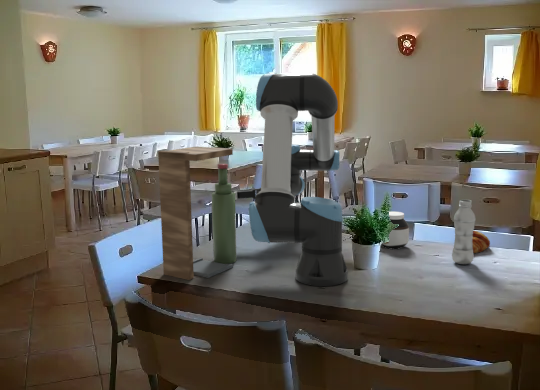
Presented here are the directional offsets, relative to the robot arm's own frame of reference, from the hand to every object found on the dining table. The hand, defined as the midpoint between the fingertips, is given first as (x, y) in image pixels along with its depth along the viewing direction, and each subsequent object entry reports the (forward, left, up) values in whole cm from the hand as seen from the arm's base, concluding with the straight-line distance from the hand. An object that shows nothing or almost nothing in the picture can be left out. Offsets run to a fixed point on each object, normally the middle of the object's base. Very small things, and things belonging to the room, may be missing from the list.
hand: (241, 200), depth 195 cm
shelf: (-11, +19, -18) cm, 29 cm away
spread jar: (-17, -48, -18) cm, 54 cm away
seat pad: (-10, +17, -18) cm, 27 cm away
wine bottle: (-5, +8, -18) cm, 20 cm away
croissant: (-33, -72, -18) cm, 81 cm away
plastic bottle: (-44, -56, -18) cm, 73 cm away
